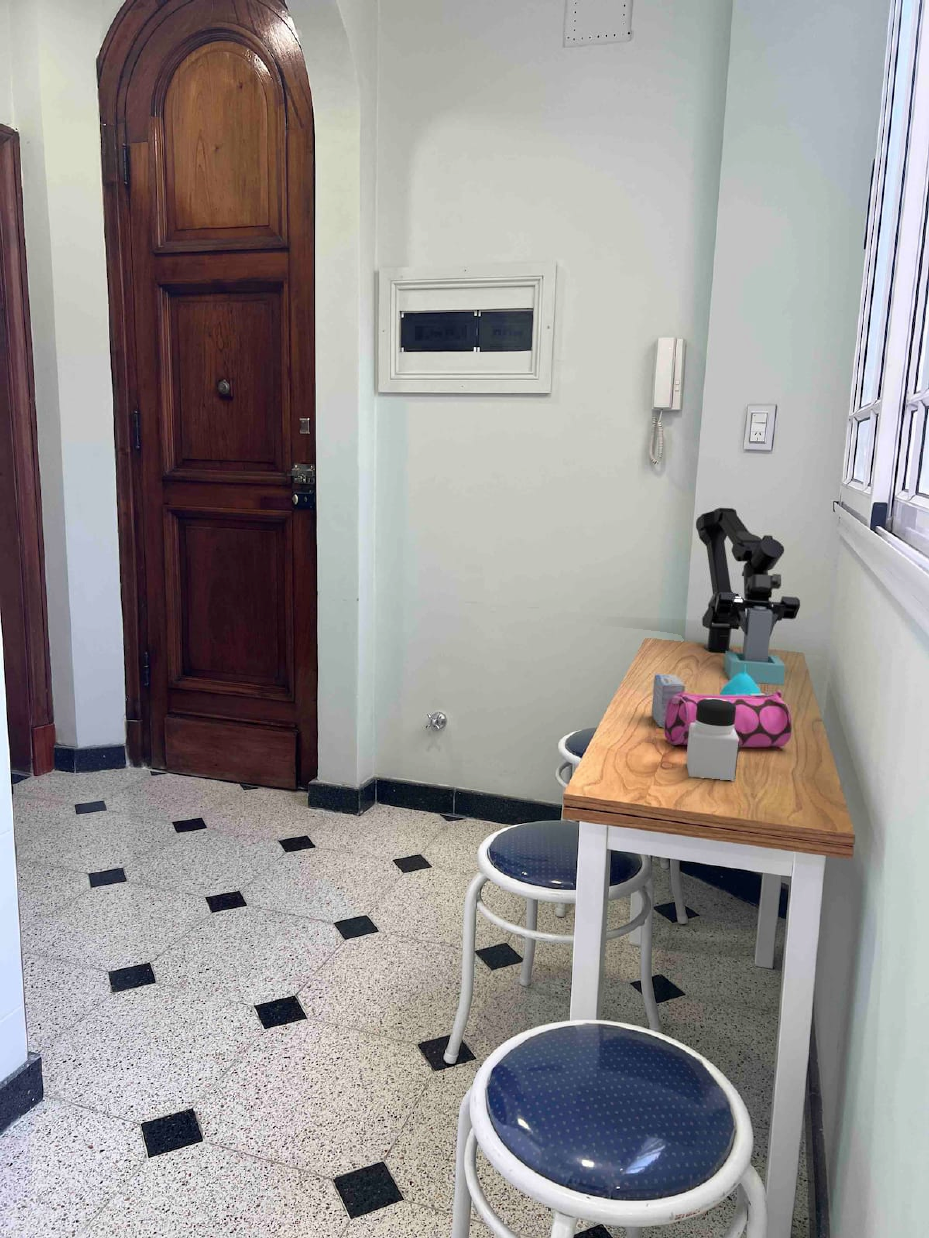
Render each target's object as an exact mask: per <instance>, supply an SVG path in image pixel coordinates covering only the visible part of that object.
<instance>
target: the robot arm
mask: <svg viewBox="0 0 929 1238" xmlns="http://www.w3.org/2000/svg"><path fill="white" fill-rule="evenodd" d="M695 528H696V531H697V533H698V538H699V540H700V541H701V542H702V543H703V544H704V545H705V546H706V553H707V560H708V561H707V562H708V568H709V573H710V574H709V575H710V583H711V584H710V585H711V588H712V589H711V590H712V595H711V598H710V599H709V602H708V604H707V607H708V608H707V610H706V611H705V612H704V614H703V616H702V618H701V623H702V627H703V628H707V629H708V639H707V644H704V645H703V648H704V649H706V650H707V651H708V652H711V653H713V652H715V653H725V652H726V651H733V652H734V650H733V649H732V648H730V644H731V637H732V636H731V635H732V630H739V629H740V628H741V631H742V632H743V634H745V635H747V628H748V626H747V619H746V615H747V611H746V610H747V608H754V606H763V607H766V609H769V610H770V611H771V612H772V613H773V614H772V623H771V632H770V637H771V636H772V633H773V630H774V627H775V625H776V623H778V622H779V621H782V620H783V619H785V620H786V619H787V620H794V619H796V618H797V615H798V613H799V610H800V607H801V600H800V599H799V598H798V597H797V596H781V598H780V600H779V601H772V600H770V598H772V595H773V591H772V590H779V589H780V588H781V586H782V575H781V574H780V573H779V574H778V573H773V574H772V575H770V574H769V571H771V570H773V569H774V568H775V566H776V565H777V563H778V561H779V560H780V559H781V558H782V557H783V555H784V554H785V547H784V545H783V544H782V543H781V542H780V541H778V540H776V539H775V538H773V535H770V534H769V535H768V534H767V535H766V534H765V535H763V536H762V538H761V537H759V536H758V535H755V534H753V533H751V531H749V530H748V528H747V527H746V526H745V524H744V523H743V521H742V520H741V518H739V516H738V512H737V510H736V509H734V508H733V507H718V508H716V509H714V510H711V511H708V512H704V513H702V514H701V515H700V516H698V517H697V519H696V521H695ZM727 538H728V539H729V541H730V542H731V543H732V547H731V553H732V556H733V557H734V560H735V561H736V562H740V563H741V562H744V565H743V566H742V567H743V570H742V571H741V572H742V573H741V577H743V596H744V597H742V596H740V595H739V593H735V592H733V591H732V586H731V581H730V574H729V573H730V571H729V565H728V559H727V558H728V557H727V552H726V551H727V550H726V545H725V543H726V542H725V541H726V539H727Z"/></svg>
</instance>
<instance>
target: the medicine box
mask: <svg viewBox="0 0 929 1238" xmlns="http://www.w3.org/2000/svg"><path fill="white" fill-rule="evenodd" d="M652 691H653V692H652V701H651V702H652V704H651V717H652V719H653V720H654V721H655V723H656V722H657V723H656V724H657V725H658V727H659V728H660V727H662V728H663V729H664V723H665V718H666V712H667V706H668V702H669V700H670V699H671V698H672V697H673V696H675V695H677V694H681V693H686V684H685V683H684V682H683V681H682V680H681V679H680V677H678V675H676V674H667V673H666V674H665V673H662V674H655V675H654V679H653V690H652ZM662 728H661V729H662Z"/></svg>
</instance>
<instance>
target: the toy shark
mask: <svg viewBox="0 0 929 1238" xmlns="http://www.w3.org/2000/svg"><path fill="white" fill-rule="evenodd" d="M761 693H762V691H761V688H760V687H759V685H757V683H755V682H754V681H753V679H752V678H751V677H750V676H749V675H748V674H746V666H745V665H744V669H743V672H742V673H739V674H737V675H736V676H735V677H734V678H733V679H732V680H731V681H730V680H729V682H727V683H726V684H725V685H724V686H723V687H722V689H721V690H720V694H719V695H750V694H761Z"/></svg>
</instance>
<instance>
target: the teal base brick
mask: <svg viewBox="0 0 929 1238" xmlns="http://www.w3.org/2000/svg"><path fill="white" fill-rule="evenodd" d="M724 653H725V654H724V666H723V671H724V672H725V671H726V672H725V674H726V676H727V678H728V680H729V681H730V680H732V679H733V678H734V677H735V676H736V675H737V674H739V673H742V672H743V669H744V665H745V666H746V674H748V675H749V676H750V677H751V678H752V679H753V681H754V682H756V684H768V685H778V686H779V685H780V686H781V685H782V686H784V684H785V683H784V682H785V675H786V674H785V673H786V664H785V663H784V662H783V661H782V659H781V658H780V657H779V656H778V654H769V653H768V659H767V663H765V662H752V661H744V660H743V658H742V653H743V651H734V650H733V651H726V652H724Z"/></svg>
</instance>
